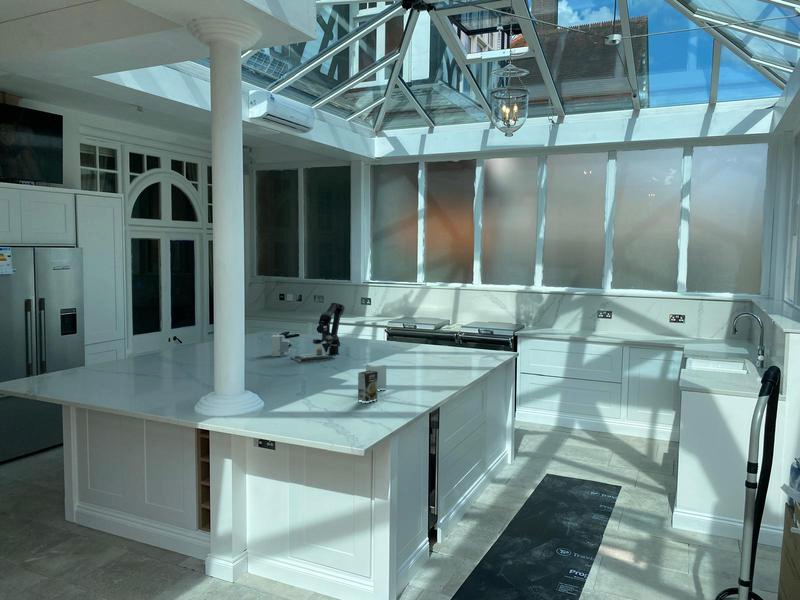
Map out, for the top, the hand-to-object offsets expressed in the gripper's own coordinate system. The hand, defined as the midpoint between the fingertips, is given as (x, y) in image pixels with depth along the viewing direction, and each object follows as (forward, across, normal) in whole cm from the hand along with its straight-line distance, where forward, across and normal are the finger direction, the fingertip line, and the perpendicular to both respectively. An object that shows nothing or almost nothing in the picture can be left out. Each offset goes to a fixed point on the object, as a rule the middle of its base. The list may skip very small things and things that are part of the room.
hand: (326, 352), depth 463 cm
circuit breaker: (+4, -25, +24) cm, 35 cm away
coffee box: (+4, -30, -126) cm, 129 cm away
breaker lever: (+3, -5, 0) cm, 6 cm away
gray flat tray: (+3, -11, 0) cm, 11 cm away
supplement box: (+4, -14, -105) cm, 106 cm away
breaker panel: (+4, -10, 0) cm, 11 cm away
